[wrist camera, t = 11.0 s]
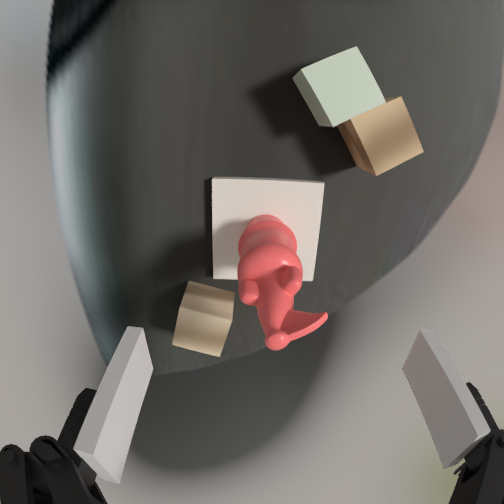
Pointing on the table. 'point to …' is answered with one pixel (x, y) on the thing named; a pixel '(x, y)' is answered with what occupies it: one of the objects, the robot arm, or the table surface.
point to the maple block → (204, 318)
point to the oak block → (381, 137)
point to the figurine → (273, 280)
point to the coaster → (259, 203)
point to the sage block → (338, 88)
